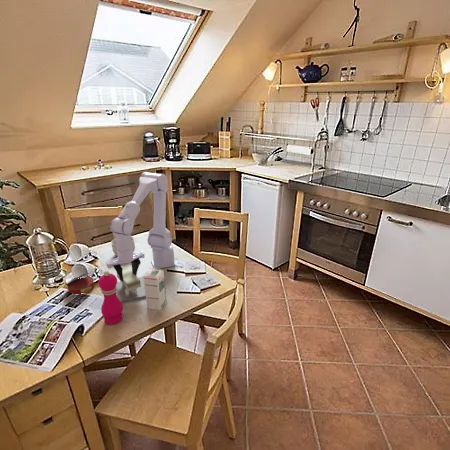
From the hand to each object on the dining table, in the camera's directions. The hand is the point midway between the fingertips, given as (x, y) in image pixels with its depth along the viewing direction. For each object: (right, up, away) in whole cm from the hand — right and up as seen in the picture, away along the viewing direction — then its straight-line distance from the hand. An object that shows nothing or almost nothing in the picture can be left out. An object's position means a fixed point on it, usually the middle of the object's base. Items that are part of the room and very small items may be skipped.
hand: (128, 277), depth 125 cm
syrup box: (+13, -10, -5) cm, 17 cm away
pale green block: (0, -2, +1) cm, 2 cm away
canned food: (-21, -5, +4) cm, 22 cm away
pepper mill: (-1, -13, -13) cm, 18 cm away
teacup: (-11, +7, +32) cm, 35 cm away
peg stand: (0, -6, +3) cm, 6 cm away
